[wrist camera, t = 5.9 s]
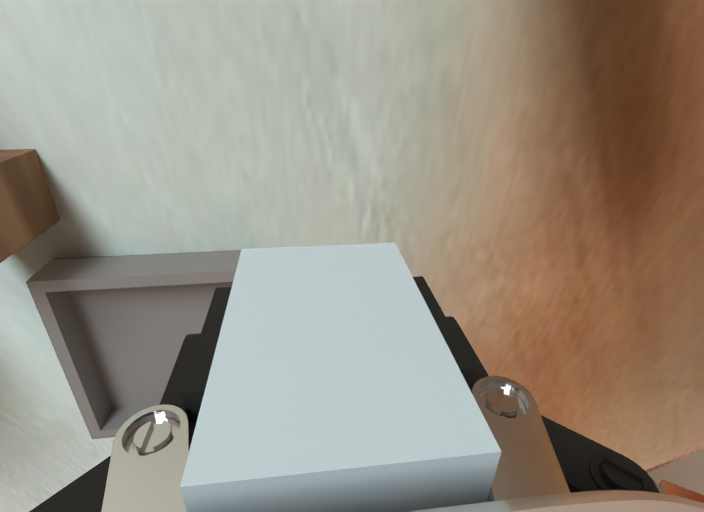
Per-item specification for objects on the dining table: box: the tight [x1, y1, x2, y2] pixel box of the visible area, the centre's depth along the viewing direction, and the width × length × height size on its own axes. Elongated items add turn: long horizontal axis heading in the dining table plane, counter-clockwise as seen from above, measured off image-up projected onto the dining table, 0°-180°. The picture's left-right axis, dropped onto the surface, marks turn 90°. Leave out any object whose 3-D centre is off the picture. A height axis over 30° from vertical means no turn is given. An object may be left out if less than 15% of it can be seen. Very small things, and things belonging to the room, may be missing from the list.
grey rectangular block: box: [180, 243, 502, 512], centre depth 10 cm, size 4×4×7 cm
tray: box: [26, 250, 241, 439], centre depth 29 cm, size 14×14×3 cm
